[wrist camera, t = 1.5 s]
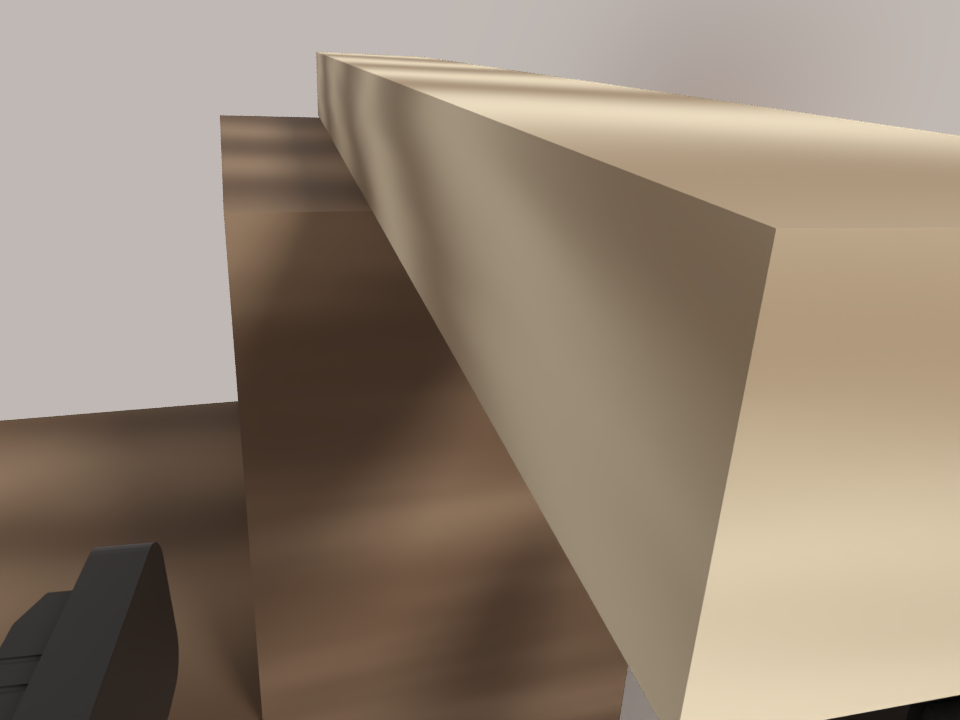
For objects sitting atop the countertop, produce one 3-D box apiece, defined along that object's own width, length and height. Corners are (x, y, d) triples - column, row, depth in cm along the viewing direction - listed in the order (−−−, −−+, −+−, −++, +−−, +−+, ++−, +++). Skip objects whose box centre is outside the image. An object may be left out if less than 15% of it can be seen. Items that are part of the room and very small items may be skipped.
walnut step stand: (549, 1167, 26) (699, 206, 14) (-38, 1407, 21) (-625, 223, 9) (436, 782, 39) (462, 120, 27) (61, 872, 34) (-116, 107, 22)
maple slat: (1322, 628, 4) (1558, 222, 3) (674, 748, 3) (777, 229, 2) (419, 117, 27) (421, 56, 26) (318, 114, 26) (316, 51, 25)
